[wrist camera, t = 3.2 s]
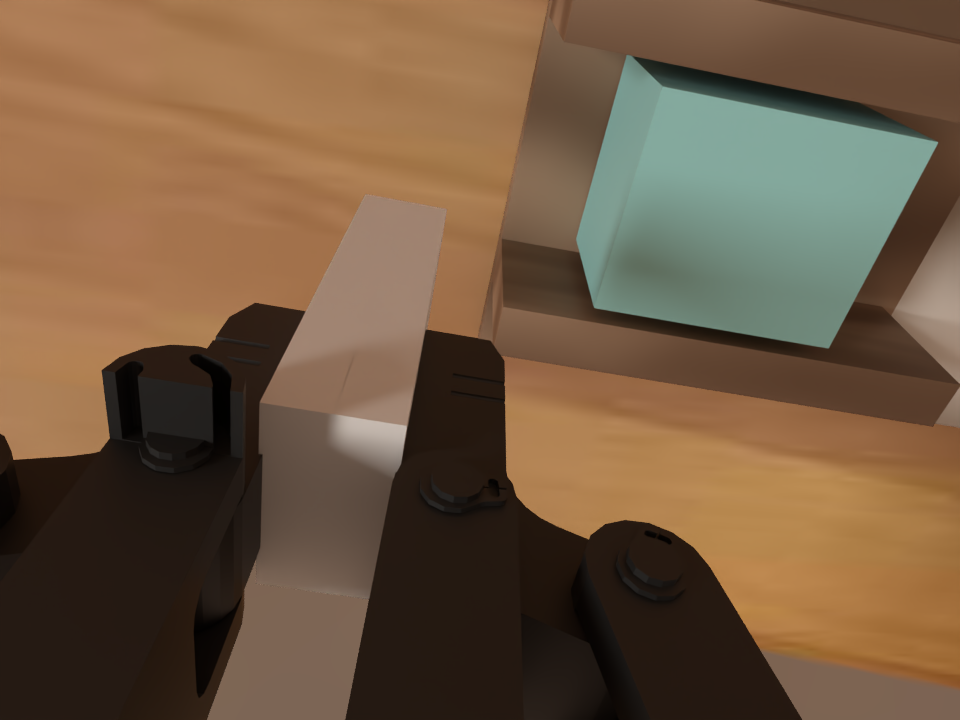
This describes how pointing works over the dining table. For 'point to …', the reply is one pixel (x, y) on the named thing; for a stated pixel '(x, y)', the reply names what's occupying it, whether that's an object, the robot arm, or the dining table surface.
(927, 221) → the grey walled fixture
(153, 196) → the dining table surface
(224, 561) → the robot arm
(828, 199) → the block
